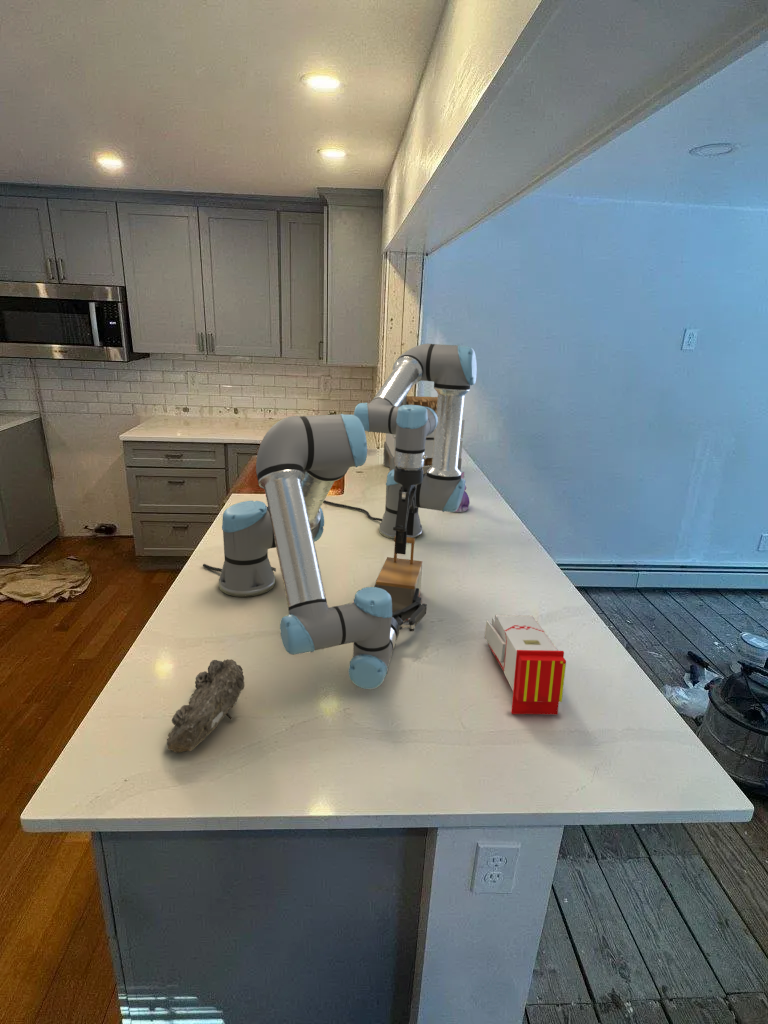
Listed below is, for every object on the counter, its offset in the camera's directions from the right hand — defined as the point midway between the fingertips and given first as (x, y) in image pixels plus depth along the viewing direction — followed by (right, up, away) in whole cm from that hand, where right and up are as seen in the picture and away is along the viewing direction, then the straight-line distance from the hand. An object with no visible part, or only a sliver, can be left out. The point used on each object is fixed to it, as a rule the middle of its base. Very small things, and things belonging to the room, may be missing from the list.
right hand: (404, 543), depth 152 cm
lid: (-1, -8, -2) cm, 8 cm away
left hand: (-2, -12, -5) cm, 13 cm away
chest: (-2, -16, +1) cm, 16 cm away
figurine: (+24, +10, +76) cm, 80 cm away
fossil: (-38, -31, -44) cm, 66 cm away
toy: (+24, -27, -26) cm, 45 cm away
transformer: (+12, +27, +123) cm, 127 cm away
